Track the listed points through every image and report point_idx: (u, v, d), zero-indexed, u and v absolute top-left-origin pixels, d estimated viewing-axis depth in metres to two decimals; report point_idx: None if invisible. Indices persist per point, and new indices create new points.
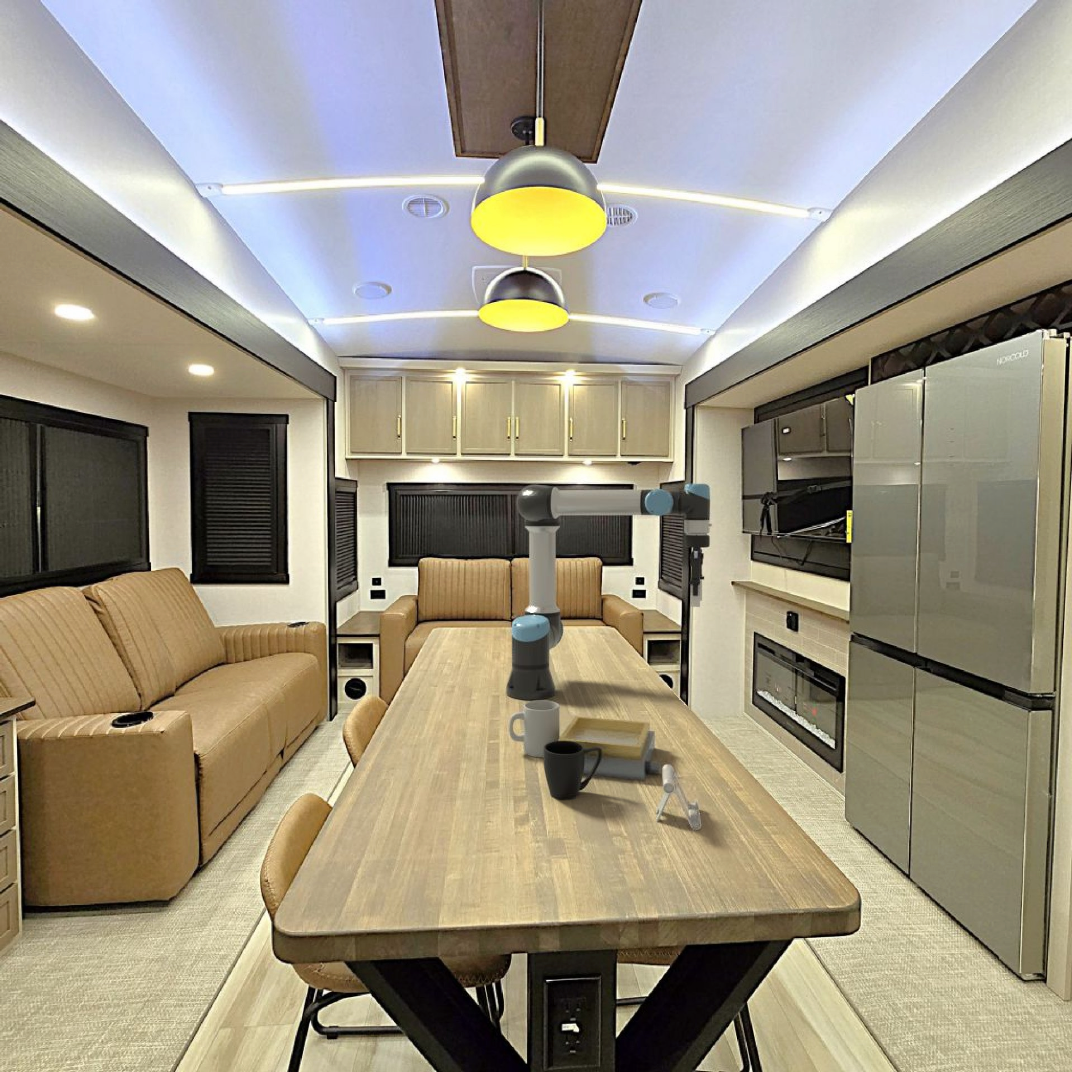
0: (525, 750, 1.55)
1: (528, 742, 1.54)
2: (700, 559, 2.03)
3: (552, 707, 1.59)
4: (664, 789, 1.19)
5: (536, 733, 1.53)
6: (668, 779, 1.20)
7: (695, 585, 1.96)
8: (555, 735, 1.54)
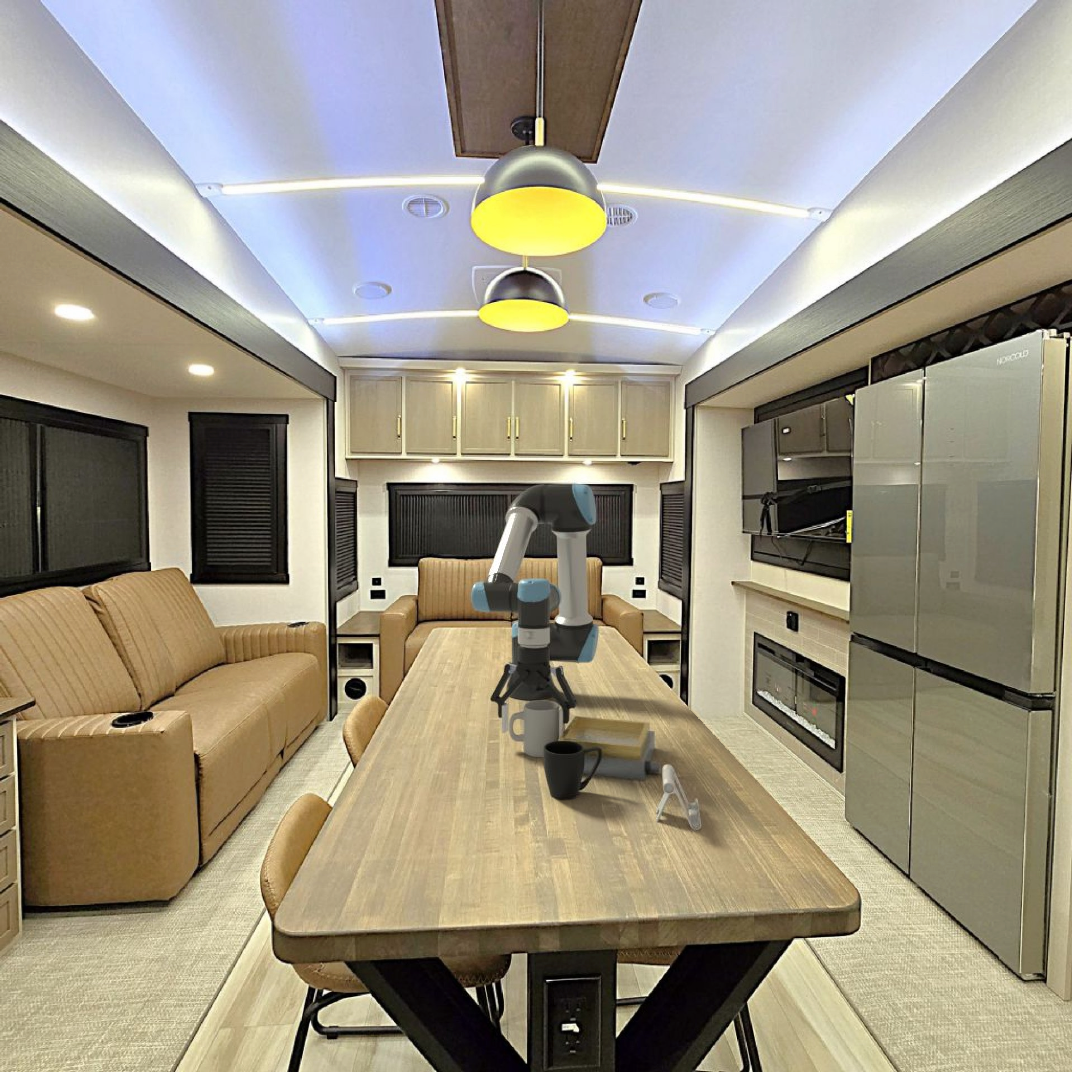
0: (525, 750, 1.55)
1: (528, 742, 1.54)
2: (530, 678, 1.55)
3: (552, 707, 1.59)
4: (664, 789, 1.19)
5: (536, 733, 1.53)
6: (668, 779, 1.20)
7: None
8: (555, 735, 1.54)
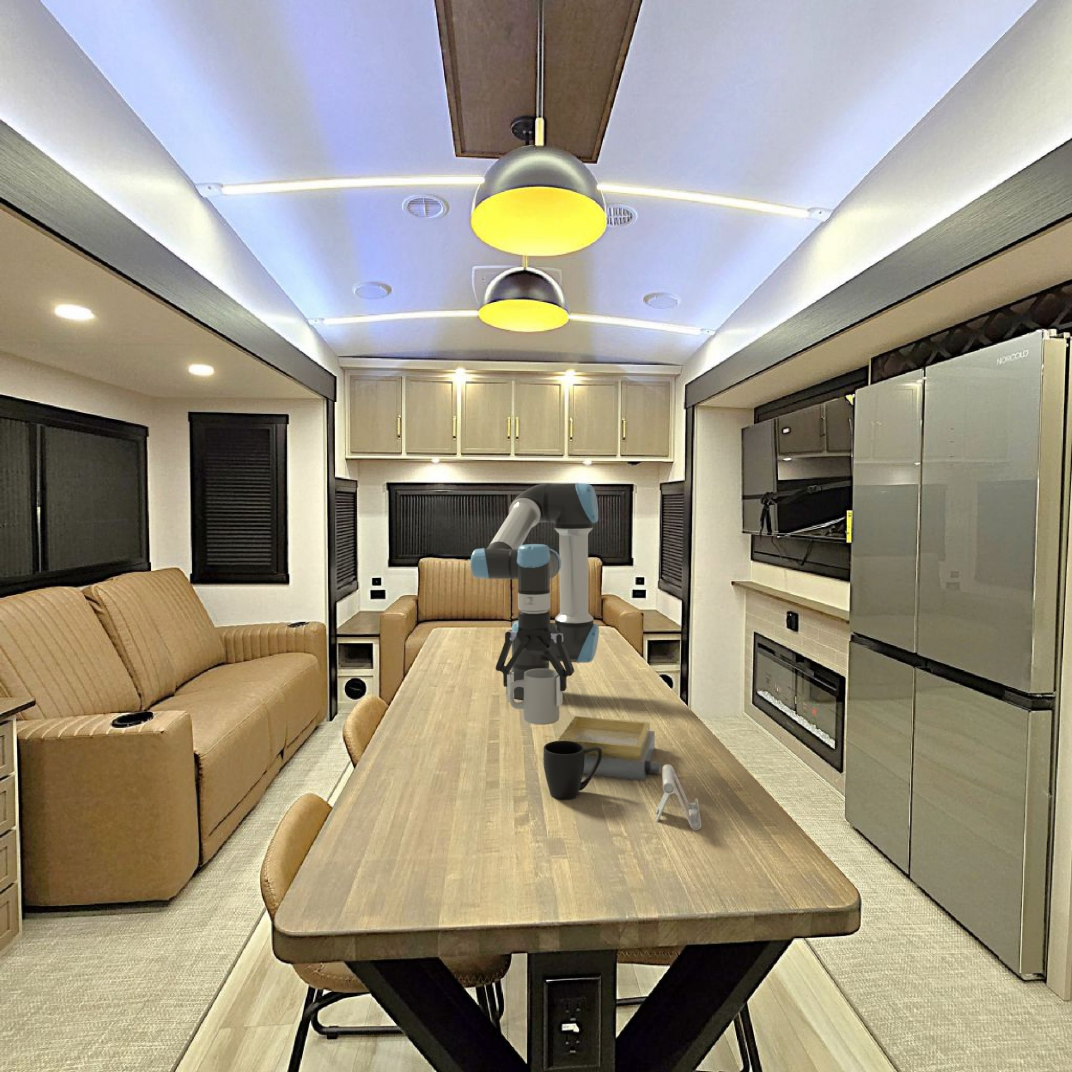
0: (525, 717, 1.56)
1: (528, 709, 1.55)
2: (531, 643, 1.55)
3: (552, 675, 1.60)
4: (664, 789, 1.19)
5: (536, 701, 1.53)
6: (668, 779, 1.20)
7: None
8: (555, 702, 1.55)
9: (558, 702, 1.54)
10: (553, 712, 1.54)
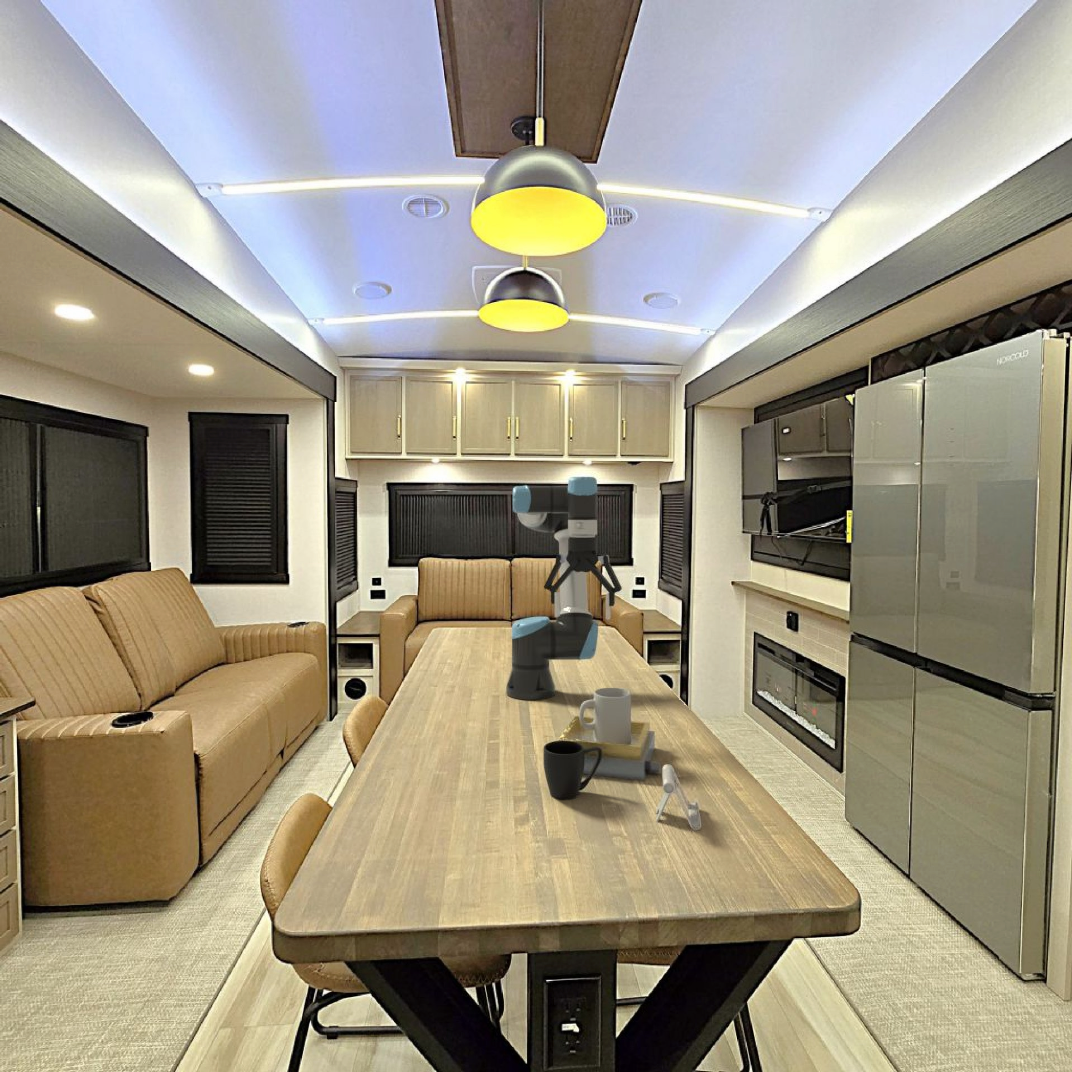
0: (596, 739, 1.50)
1: (600, 730, 1.49)
2: (580, 566, 1.72)
3: (621, 694, 1.55)
4: (664, 789, 1.19)
5: (609, 721, 1.48)
6: (668, 779, 1.20)
7: None
8: (628, 722, 1.50)
9: (607, 616, 1.71)
10: (626, 733, 1.49)
